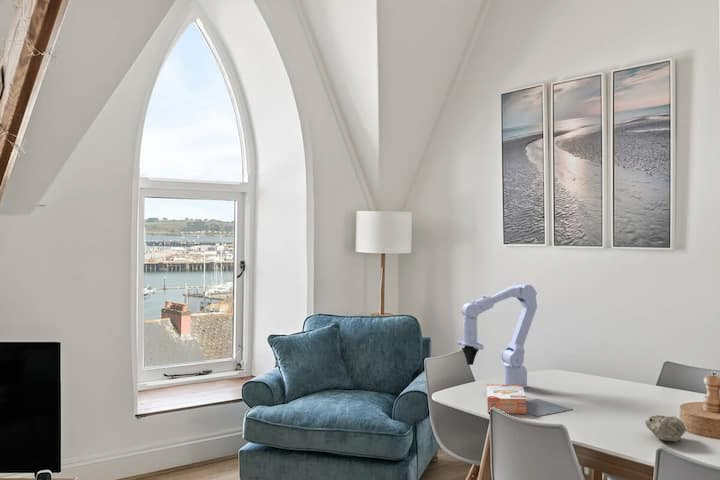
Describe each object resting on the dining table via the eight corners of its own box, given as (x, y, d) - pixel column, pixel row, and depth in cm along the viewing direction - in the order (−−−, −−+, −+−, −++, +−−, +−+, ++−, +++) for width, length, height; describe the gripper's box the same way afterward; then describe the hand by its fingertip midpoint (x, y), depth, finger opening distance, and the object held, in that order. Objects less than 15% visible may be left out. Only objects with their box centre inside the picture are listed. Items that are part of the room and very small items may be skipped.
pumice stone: (688, 450, 204) (688, 423, 203) (646, 445, 208) (646, 419, 208) (684, 436, 216) (684, 412, 216) (644, 432, 221) (644, 408, 221)
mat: (537, 399, 264) (537, 398, 264) (573, 409, 249) (573, 409, 249) (502, 405, 255) (502, 404, 255) (537, 416, 240) (537, 415, 240)
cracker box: (522, 383, 262) (526, 398, 242) (523, 398, 262) (527, 414, 242) (486, 383, 264) (487, 397, 244) (486, 398, 265) (487, 414, 244)
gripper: (451, 330, 285) (451, 362, 285) (474, 335, 272) (474, 368, 273) (464, 329, 289) (464, 360, 289) (487, 333, 276) (487, 366, 276)
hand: (470, 364), depth 281 cm, fingers closed
